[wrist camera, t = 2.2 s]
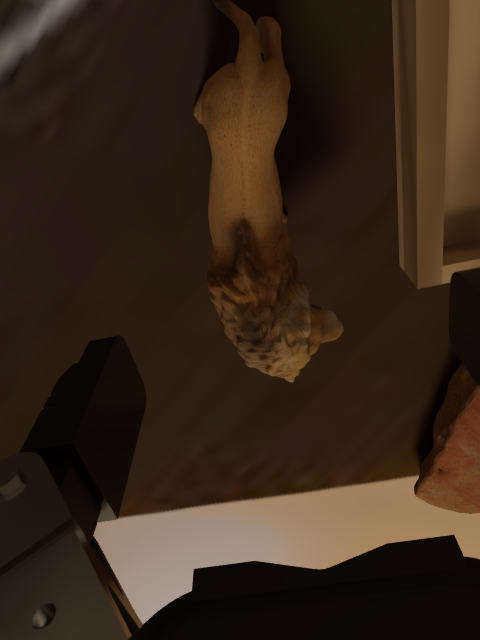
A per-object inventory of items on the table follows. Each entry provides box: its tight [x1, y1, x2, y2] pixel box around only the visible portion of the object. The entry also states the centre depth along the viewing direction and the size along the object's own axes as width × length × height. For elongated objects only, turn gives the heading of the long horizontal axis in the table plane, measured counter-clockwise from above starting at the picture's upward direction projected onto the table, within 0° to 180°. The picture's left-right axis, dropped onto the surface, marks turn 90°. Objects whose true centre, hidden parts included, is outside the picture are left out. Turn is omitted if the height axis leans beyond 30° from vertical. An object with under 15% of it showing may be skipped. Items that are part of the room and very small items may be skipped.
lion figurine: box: [194, 0, 343, 382], centre depth 18 cm, size 15×5×9 cm, turn 13°
